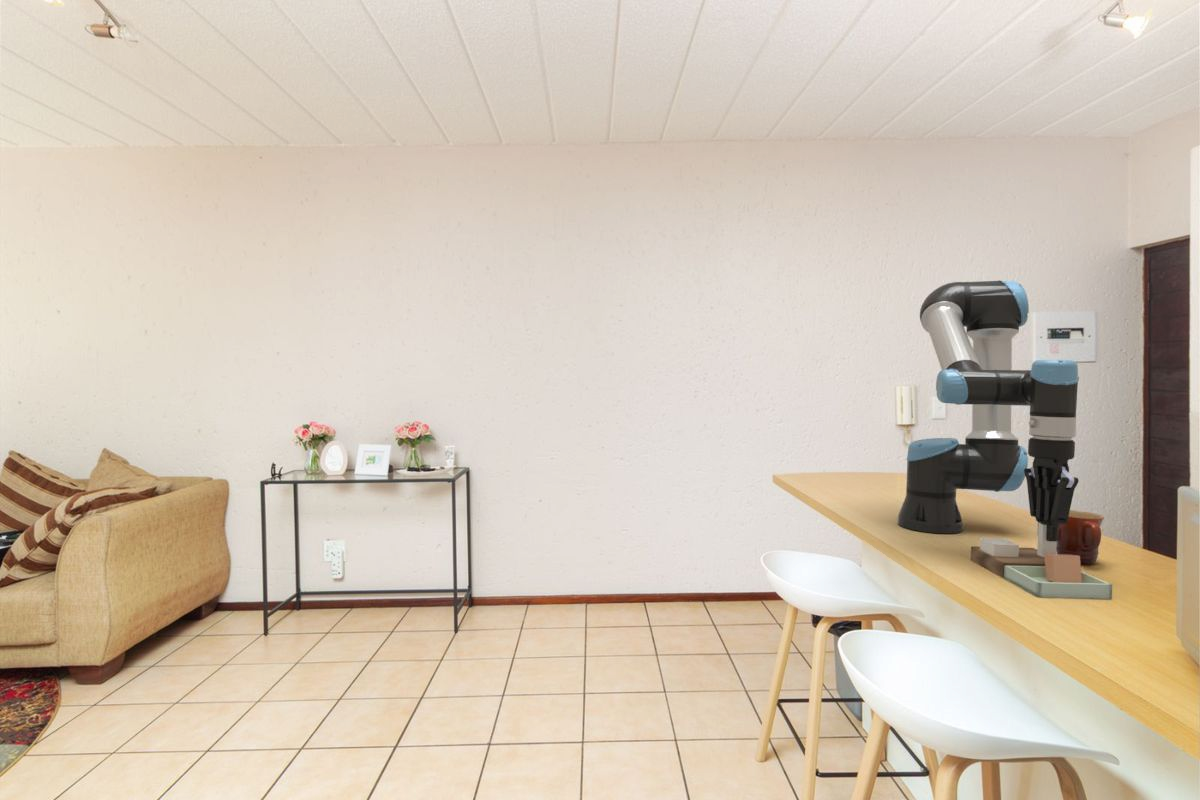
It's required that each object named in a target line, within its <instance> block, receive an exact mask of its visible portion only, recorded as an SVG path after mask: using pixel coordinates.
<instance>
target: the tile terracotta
mask: <svg viewBox="0 0 1200 800" xmlns="http://www.w3.org/2000/svg"><path fill="white" fill-rule="evenodd" d="M1044 556H1045V571H1046V580H1048V581H1052V582H1070V583H1082V577H1081V571H1082V568H1081V565H1082V564H1080V556H1078V555H1071V554H1057V553H1056V554H1044Z"/></svg>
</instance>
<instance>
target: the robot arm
mask: <svg viewBox="0 0 1200 800" xmlns="http://www.w3.org/2000/svg"><path fill="white" fill-rule="evenodd" d="M1029 307H1030V306H1029V299H1028V295H1027V291H1026V290H1025V288H1024V287H1023V285H1022V284H1021V283H1019V282H1017V281H1013V280H1009V281H1008V280H1007V281H1006V280H1005V281H1004V280H1002V279H999V280H986V281H984V280H983V281H980V280H979V281H954V282H953V281H952V282H948V283H945V284H943V285H941V286H939V287H937V288H936V289H934V290H933V291H932V292H930V293H929V294H928V296H927V297H926V298H925V299H924V301H923V302H922V304H921V307H920V310H919V320H920V324H921V327H922V328H923V330H924V331H926V332H927V333H928V334H929V336H930V339H931V342H932V345H933V348H934V351H935V354H936V358H937V359H938V363H939V366H940V369H941V370H940V371H939V372H938V374H937V376H936V381H935V391H936V397H937V400H938V401H939V402H940V403H942V404H954V405H972V410H971V411H972V412H971V414H972V415H971V416H972V417H971V418H972V420H971V423H972V425H971V432H970V433H968V435H966V436H965V441H964V443H963V444H961V443H960V442H959V441H958V439H957V438H955V437H933V438H932V437H931V438H924V439H918V440H913V441H912V442H910V443H909V445H908V449H907V455H906V462H907V465H906V490H905V491H906V493H905V498H904V500H903V502H902V505H901V508H900V509H899V512H898V516H897V524H898V525H899V526H900V527H902V528H906V529H909V530H912V531H917V532H922V533H923V532H924V533H930V534H944V535H945V534H947V533H948V535H949V534H958V533H961V532H963V525H964V522H963V518H962V516H961V512H960V509H959V505H958V503H957V490H969V491H970V490H975V491H988V492H996V493H998V492H1014V491H1017V490H1018V489H1019V488H1020V487H1021V486H1022V485H1023V483H1024V480H1025V479H1026V484H1027V485H1026V486H1027V494H1028V496H1027V497H1028V504H1029V505H1028V506H1029V514H1030V516H1031V517H1034V518H1035V521H1036V522H1037V546H1036V547H1037V555H1039V556H1041V557H1045V556H1044V554H1057V552H1056V546H1057V538H1058V537H1057V536H1058V526H1059V525H1060V524H1066V523H1067V520H1068V516H1069V511H1070V510H1071V508H1072V507H1071V505H1072V501H1073V497H1074V493H1075V489H1076V487H1077V486H1078V483H1079V478H1078V477H1074V476H1073V477H1072V475H1071V474H1070V467H1069V463H1068V461H1069V460H1073V459H1074V458H1075V450H1076V449H1075V448H1076V442H1075V441H1074V440H1073V439H1074V438H1075V437H1076V436H1077V435H1076V434H1077V406H1078V403H1077V401H1078V385H1079V383H1078V382H1079V379H1080V377H1079V366H1078V363H1077V361H1075V360H1073V359H1038V360H1037V359H1036V360H1034V361H1033V362H1032V364H1031V369H1023V370H1021V369H1019V370H1018V369H1016V370H1015V369H1013V370H1012V359H1013V358H1012V357H1013V356H1012V355H1013V354H1012V351H1013V349H1012V346H1013V345H1012V344H1013V342H1012V341H1013V338H1015V336H1017V334H1018V333H1020V327H1023V326H1025V325H1026V323H1027V321H1028V317H1029V316H1028V314H1029V313H1030V312H1029V311H1030V309H1029ZM965 327H966V329H965ZM969 338H970V339H971V340H972V343H971V341H970V339H969ZM1012 406H1027V407H1028V406H1029V421H1028V426H1029V431H1028V434H1029V435H1030V436H1032V437H1029V439H1028V443H1027V444H1028V445H1027V446H1028V447H1027V448H1028V449H1026V448H1025V447H1024V446H1022V445H1019V438H1017V436H1016V435H1015V434H1013V432H1012ZM1072 438H1073V439H1072ZM1028 456H1029V457H1032V458H1033V461H1032V466H1031V467H1030V468H1029V467H1028V466H1029V457H1028Z"/></svg>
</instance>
